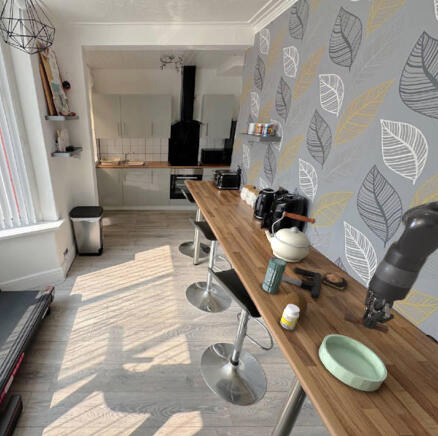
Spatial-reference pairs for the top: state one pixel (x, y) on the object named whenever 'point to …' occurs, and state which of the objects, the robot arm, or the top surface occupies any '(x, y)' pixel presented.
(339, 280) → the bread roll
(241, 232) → the top surface
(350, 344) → the bowl
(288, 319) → the supplement bottle
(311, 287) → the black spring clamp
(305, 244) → the kettle
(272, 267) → the can
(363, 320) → the brown bar
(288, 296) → the potato
